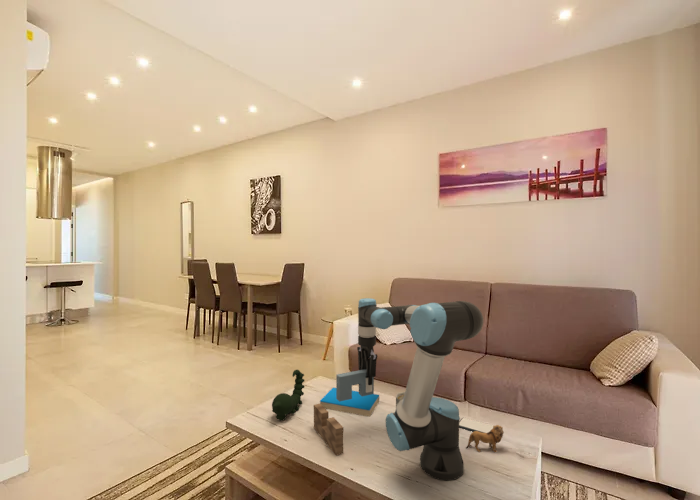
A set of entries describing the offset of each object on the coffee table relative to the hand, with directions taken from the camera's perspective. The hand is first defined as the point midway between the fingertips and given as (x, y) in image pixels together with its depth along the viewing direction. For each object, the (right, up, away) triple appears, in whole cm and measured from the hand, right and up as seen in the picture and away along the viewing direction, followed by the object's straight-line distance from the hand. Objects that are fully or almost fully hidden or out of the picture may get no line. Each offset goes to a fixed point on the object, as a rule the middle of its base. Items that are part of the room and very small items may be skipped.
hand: (366, 390), depth 151 cm
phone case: (+48, -17, +1) cm, 51 cm away
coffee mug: (+19, -17, +11) cm, 27 cm away
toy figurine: (-36, -16, +14) cm, 41 cm away
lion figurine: (+45, -17, -14) cm, 50 cm away
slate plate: (-5, -2, -2) cm, 6 cm away
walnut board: (-16, -17, -8) cm, 25 cm away
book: (-7, -17, +23) cm, 29 cm away
